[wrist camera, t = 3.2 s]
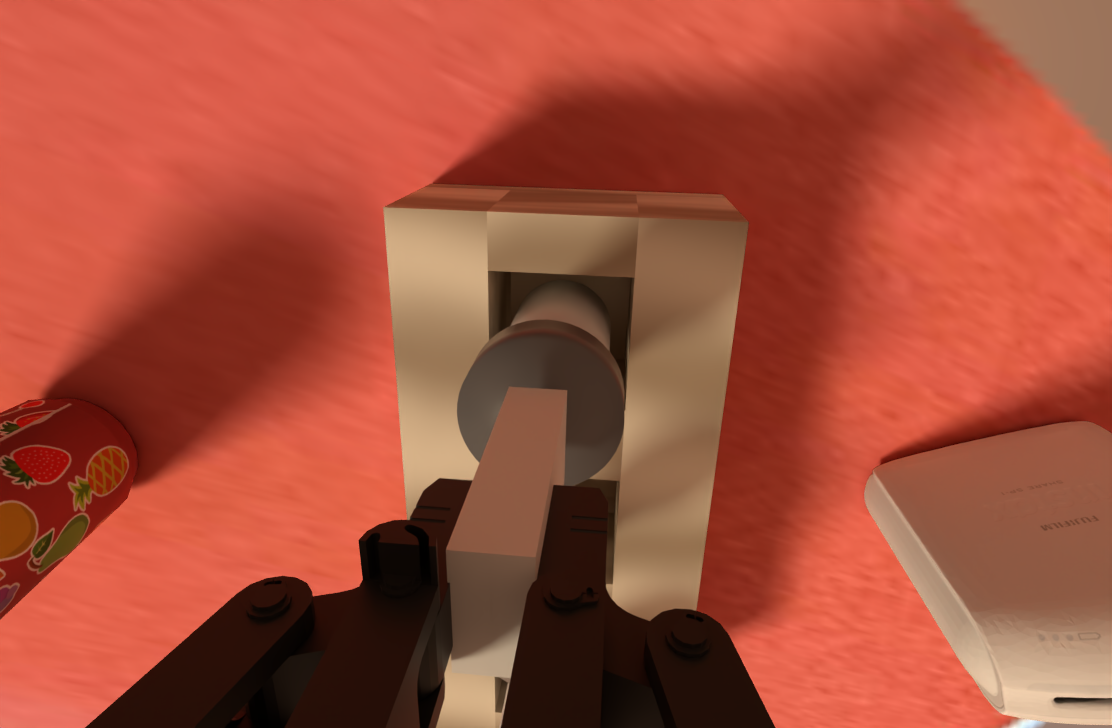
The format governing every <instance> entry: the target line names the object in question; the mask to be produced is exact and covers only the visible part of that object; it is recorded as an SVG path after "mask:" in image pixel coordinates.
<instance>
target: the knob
mask: <svg viewBox="0 0 1112 728" xmlns="http://www.w3.org/2000/svg"><path fill="white" fill-rule="evenodd" d="M610 333H611V322H610V316H609V313H608V310H607V308H606V306H605V304H604V302H603V301H602V299H601V298H600V297H599V296H598V295H597V294H596V293H595V292H594V291H593V290H591V289H590V288H588V287H587V286H585V285H583V284H580V283H578V282H574V281H568V280H556V281H550V282H547V283H544V284H542V285H540V286H538V287H536V288H535V289H533V290H532V291H531V292H530V293H529V294H528V295H527V296H526V297H525V298H524V300H523V301H522V303H521V305H520V307H519V309H518V311H517V313H516V315H515V317H514V319H513V321H512V324H511V326H510V327H508V328H506V329H504V330H502V331H501V332H499V333H498V334H496V335H495V336H494V337H492V338H491V339H490V340H489V341H488V342H487V343H486V344H485V345H484V347H483V348H482V349H481V351H480V352H479V354H478V356H477V357H476V359H475V361H474V363H473V365H472V367H471V368H470V370H469V372H468V374H467V376H466V378H465V380H464V382H463V384H462V386H461V389H460V392H459V396H458V402H457V418H458V425H459V429H460V432H461V435H462V437H463V440H464V442H465V444H466V446H467V447H468V449H469V451H470V452H471V453H472V455H473V456H474V457H475V459H476V460H477V461H478V462H479V463H480V460H481V458H482V455H483V453H484V450H485V448H486V445H487V442H488V440H489V437H490V435H491V432H492V430H493V427H494V424H495V422H496V419H497V417H498V414H499V412H500V409H501V406H502V404H503V401H504V399H505V396H506V394H507V391H508V388H509V387H524V388H540V389H556V390H567V414H566V444H565V474H564V486H573V485H576V484H579V483H581V482H583V481H585V480H587V479H589V478H591V477H592V476H594V475H595V474H597V473H598V472H599V471H600V470H601V469H602V468H604V467H605V466H606V464H607V463H608V462H609V461H610V460H611V458H612V457H613V455H614V454H615V452H616V451H617V448H618V446H619V444H620V442H621V438H622V435H623V430H624V384H623V378H622V375H621V371H620V369H619V367H618V364H617V362H616V360H615V359H614V357H613V356H612V354H611V353H610Z"/></svg>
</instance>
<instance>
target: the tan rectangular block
mask: <svg viewBox="0 0 1112 728" xmlns="http://www.w3.org/2000/svg"><path fill="white" fill-rule="evenodd" d="M383 209H384V222H385V235H386V248H387V261H388V274H389V287H390V301H391V314H392V327H393V340H394V353H395V366H396V379H397V392H398V406H399V419H400V432H401V445H402V458H403V471H404V484H405V497H406V510H407V520H410V516H411V514H412V512H413V510H414V508H416V504H417V502H418V500H419V498H420V496H421V494H422V492H423V490H425V489H426V488H427V487H428V486H430V485H431V484H432V483H434V482H435V481H436V480H437V479H439V478H446V479H460V480H473V479H474V476H475V473H476V471H477V468H478V466H479V462H478V461H477V460H476V459H475V457H474V456H473V455H472V453H471V452H470V451H469V449H468V447H467V446H466V444H465V442H464V440H463V437H462V435H461V432H460V429H459V425H458V418H457V402H458V396H459V392H460V389H461V386H462V384H463V382H464V380H465V378H466V376H467V374H468V372H469V370H470V368H471V367H472V365H473V363H474V361H475V359H476V357H477V356H478V354H479V352H480V351H481V349H482V348H483V347H484V345H485V344H486V343H487V342H488V341H489V340H490V339H491V338H492V337H494V336H495V335H496V334H498V333H499V332H501V331H502V330H504V329H506V328H508V327H510V326H511V324H512V321H513V319H514V317H515V315H516V313H517V311H518V309H519V307H520V305H521V303H522V301H523V300H524V298H525V297H526V296H527V295H528V294H529V293H530V292H531V291H532V290H533V289H535V288H536V287H538V286H540V285H542V284H544V283H547V282H550V281H556V280H568V281H574V282H578V283H580V284H583V285H585V286H587V287H588V288H590V289H591V290H593V291H594V292H595V293H596V294H597V295H598V296H599V297H600V298H601V299H602V301H603V302H604V304H605V306H606V308H607V310H608V313H609V316H610V322H611V333H610V353H611V354H612V356H613V357H614V359H615V360H616V362H617V364H618V367H619V369H620V371H621V375H622V378H623V384H624V430H623V435H622V438H621V442H620V444H619V446H618V448H617V451H616V452H615V454H614V455H613V457H612V458H611V460H610V461H609V462H608V463H607V464H606V466H605V467H604V468H602V469H601V470H600V471H599V472H598V473H597V474H595V475H594V476H592V477H591V478H589V479H587V480H585V481H583V482H581V483H579V484H576V485H575V486H578V487H592V488H600V490H601V491H602V493H603V495H604V496H605V498H606V499H607V501H608V528H607V555H606V589H607V591H608V593H609V595H610V597H611V599H612V600H613V601H614V602H615V603H616V604H617V605H618V606H619V607H621V608H622V609H624V610H625V611H626V612H628V613H631V614H633V615H635V616H637V617H640V618H643V619H646V620H648V621H651V619H653V618H654V617H655V616H657V615H658V614H659V613H661V612H663V611H667V610H671V609H675V608H677V609H692V610H695V611H696V609H697V602H698V595H699V587H700V580H701V572H702V565H703V558H704V550H705V543H706V535H707V528H708V521H709V513H710V506H711V498H712V491H713V484H714V476H715V469H716V462H717V454H718V447H719V439H720V432H721V425H722V417H723V410H724V402H725V395H726V388H727V380H728V373H729V366H730V358H731V351H732V343H733V336H734V329H735V321H736V314H737V306H738V299H739V292H740V284H741V277H742V269H743V262H744V255H745V247H746V240H747V233H748V225H749V222H748V221H747V220H746V218H745V217H744V216H743V215H742V214H741V213H740V212H739V211H738V210H737V209H736V208H735V207H734V206H733V205H732V204H731V203H730V201H729V200H728V199H727V198H726V197H725V196H724V195H723V194H696V193H669V192H642V191H615V190H589V189H562V188H535V187H508V186H481V185H455V184H429V185H427V186H425V187H423V188H421V189H419V190H417V191H415V192H413V193H411V194H409V195H407V196H405V197H403V198H401V199H399V200H397V201H395V202H393V203H391V204H389V205H387V206H385V207H383ZM444 675H445V698H444V702H443V705H442V709H441V712H440V716H439V719H438V722H437V726H436V728H499V725H500V720H501V715H502V710H503V705H504V700H505V695H506V689H507V684H508V682H506V681H504V680H502V679H501V678H500V677H493V676H482V675H472V674H462V673H452V666H451V654H450V657H449V660H448V664H447V667H446V670H445V673H444Z"/></svg>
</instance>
